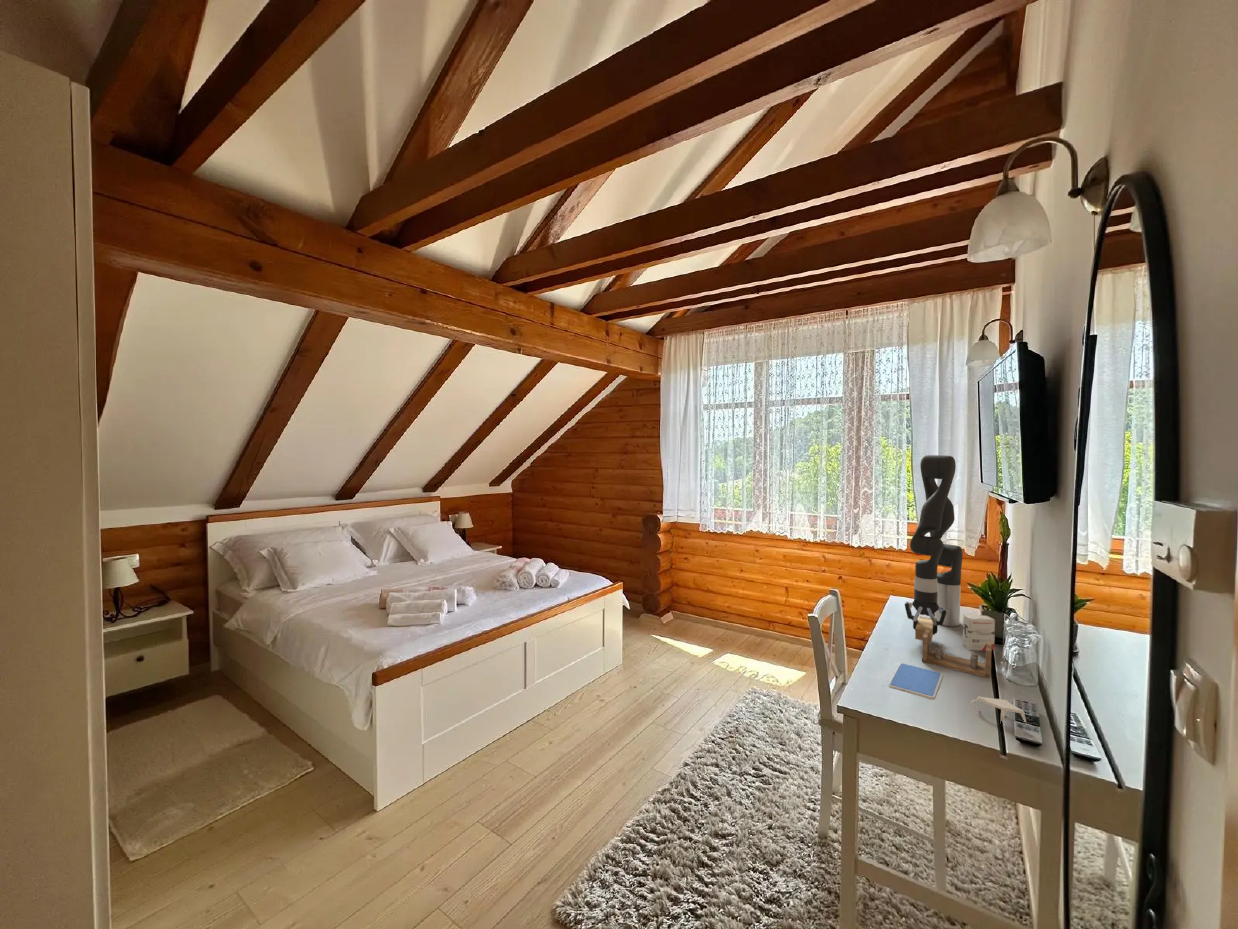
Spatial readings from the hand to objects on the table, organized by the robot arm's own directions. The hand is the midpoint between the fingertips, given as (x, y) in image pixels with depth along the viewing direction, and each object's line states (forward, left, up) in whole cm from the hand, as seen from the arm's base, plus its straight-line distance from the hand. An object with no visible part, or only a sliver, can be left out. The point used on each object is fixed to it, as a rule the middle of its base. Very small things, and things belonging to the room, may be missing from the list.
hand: (925, 632), depth 187 cm
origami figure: (+45, +23, -5) cm, 51 cm away
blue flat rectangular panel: (+35, +2, -5) cm, 35 cm away
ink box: (-7, +16, -5) cm, 18 cm away
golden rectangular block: (0, 0, -1) cm, 1 cm away
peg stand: (+14, +11, -5) cm, 18 cm away
